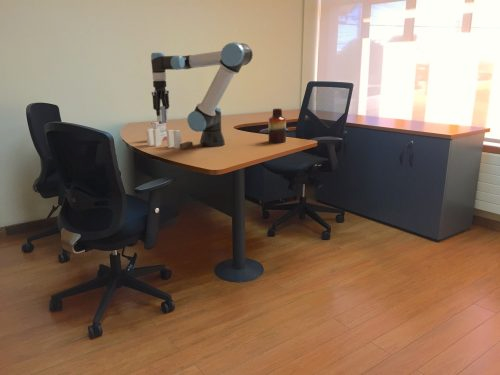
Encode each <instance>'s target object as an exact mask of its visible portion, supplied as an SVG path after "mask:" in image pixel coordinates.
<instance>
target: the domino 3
mask: <svg viewBox="0 0 500 375" xmlns="http://www.w3.org/2000/svg"><path fill="white" fill-rule="evenodd" d="M160 110H161V117H162V121H158V122H159V124H164V123H166V124H167V120H166V113H165V106H163V105H160Z"/></svg>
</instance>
